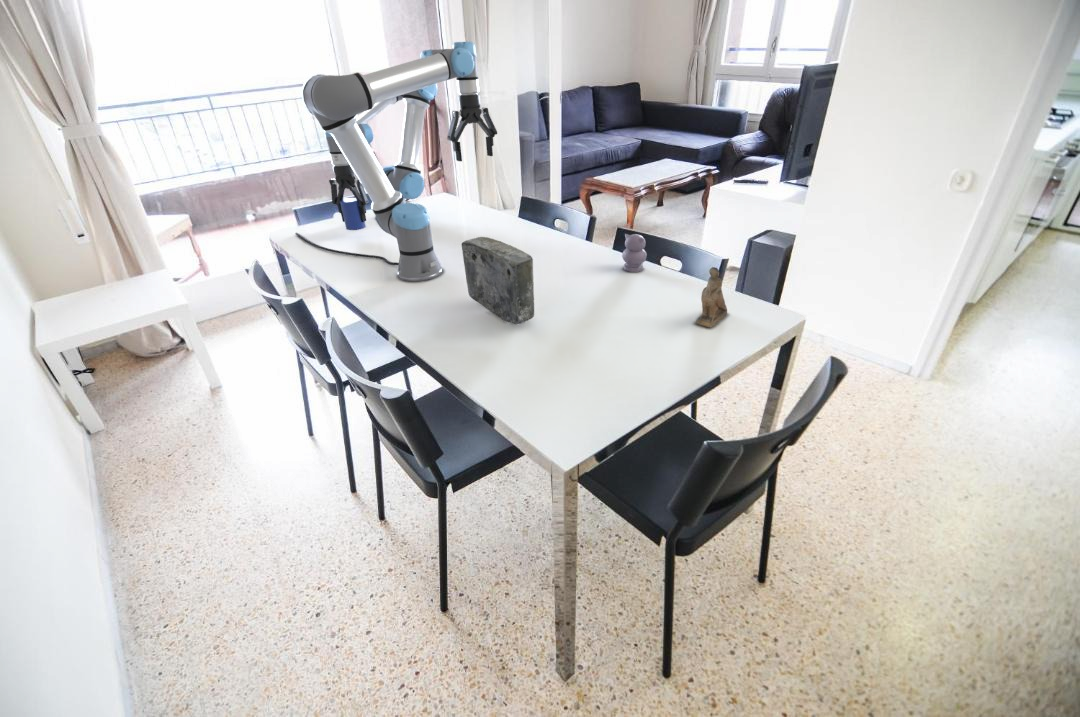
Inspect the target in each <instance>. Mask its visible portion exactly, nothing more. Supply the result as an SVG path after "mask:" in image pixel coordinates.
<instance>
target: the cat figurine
mask: <svg viewBox="0 0 1080 717" xmlns="http://www.w3.org/2000/svg"><path fill="white" fill-rule="evenodd" d="M624 237H625V241H624V246H625V249H624V250H623V251H622V253H621V254H622V255H621V257H622V260H623V261H624V262H625V263H624V264H623V270H624V271H626V272H631V273H639V272H641V271H642V270H643V266H644V265H643V263H645V262H646V260H647V257H648V254H647V251H646V250H645V247H646V239H645V238H644V237H643V236H642V235H640V234H637V233H635V234H628V233H624Z"/></svg>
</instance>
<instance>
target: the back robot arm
mask: <svg viewBox="0 0 1080 717" xmlns="http://www.w3.org/2000/svg"><path fill="white" fill-rule="evenodd" d="M437 94H438V83H436V84H433V85H430V86H427V87H424V88H421V89H418V90H415V91H412V92H409V93H406V94H403V95H400V96H397V97H394V98H391V99H387V100H384V101H381V102H378V103H375V104H374V106H373V108H372V109H370V110H367V111H364V112H361V113H359V114H357V119H356V123H357V124H358V126H359V128H360V130H361V132H362V133H363V135H364V137H365V139H366V140H367V142H368V144H371V143H372V142H373V141H374V131H373V129H372V126H370V125H369V124H368V123H370V122H371V121H372V120H373V119H374V118H375V117H377V116H378V115H379V114H380V113H381V112H383V111H384V110H385V109H386V108H387V107H389V106H390V105H395V104H396V103H398V102H399V101H402V102H404V104H405V108H404V117H403V123H402V132H401V138H400V139H401V140H400V147H399V155H398V162H396V163H394V165H387V166H381V167H382V169H383V171H384V172H385V174H386V176H387V178H388V180H389V181H390V183H391V185H392V187H393V188H394V190H395V191H399V192H401V194H402V196H403V197H404V199H405V201H406V202H408V201H410V200H415V199H418V198H419V197H420V196H421V195H422V194H423V192H424V190H425V180H424V177H423V175H422V174H421V172H422V169H420V167H419V163H420V161H419V160H420V156H421V155H420V154H421V149H422V148H421V146H422V139H423V132H424V124H425V117H426V110H428V109H429V108H430V106H431V101H432V100H434V99H435V98H436V97H437ZM323 132H324V137H325V140H326V144H327V148H328V153H329V158H330V161H331V164H332V170H333V175H334V176H335V177H334V178H331V179H328V183H329V185H330V193H331V203H332V205H336V206H337V210H338V213H339V214H340V215H341V220H342V223H345V221H344V217H343V213H342V208H341V204H340V200H342V199H344V195H345V190H349V191H350V192H351V194H352V195H353V196H354V198H356V200H357V201H358V203H359V205H360V206H359V212H360V217H361V221H362V222H365V223H366V221H367V217H366V214H367V208H366V205H368V204H369V203H370V200H369V198H368V194H367V192H366V190H365V189H364V187H363V185H362V184H361V182H360V180H359V179H358V178H356V176H355V172H354V170H353V169H352V167H351V165H350V164H349V162H348V161H347V159H346V157H345V156H344V154H343V152H342V151H341V149H340V147H339V146H338V144H337V142H336V141H335V139H334V137H333V136H332V134H330V133H327V132H325V131H324V130H323ZM337 185H338V186H337Z"/></svg>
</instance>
